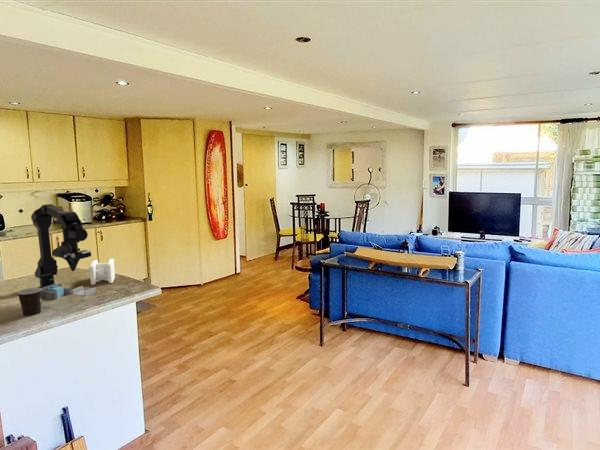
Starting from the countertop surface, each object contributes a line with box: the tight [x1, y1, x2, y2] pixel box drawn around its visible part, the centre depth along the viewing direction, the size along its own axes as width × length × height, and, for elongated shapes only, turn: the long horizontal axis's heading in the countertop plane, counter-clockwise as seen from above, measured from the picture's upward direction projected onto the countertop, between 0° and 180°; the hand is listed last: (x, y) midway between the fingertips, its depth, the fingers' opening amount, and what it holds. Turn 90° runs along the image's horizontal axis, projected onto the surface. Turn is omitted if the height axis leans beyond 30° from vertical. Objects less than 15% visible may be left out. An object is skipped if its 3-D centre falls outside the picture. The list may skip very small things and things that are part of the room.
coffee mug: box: [17, 287, 42, 317], centre depth 180 cm, size 12×9×10 cm
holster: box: [71, 285, 96, 296], centre depth 206 cm, size 9×6×3 cm
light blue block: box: [47, 285, 65, 299], centre depth 202 cm, size 6×4×6 cm, turn 69°
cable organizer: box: [88, 258, 116, 286], centre depth 225 cm, size 15×11×12 cm
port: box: [40, 282, 72, 301], centre depth 202 cm, size 11×12×6 cm
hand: (73, 270), depth 201 cm, fingers closed
